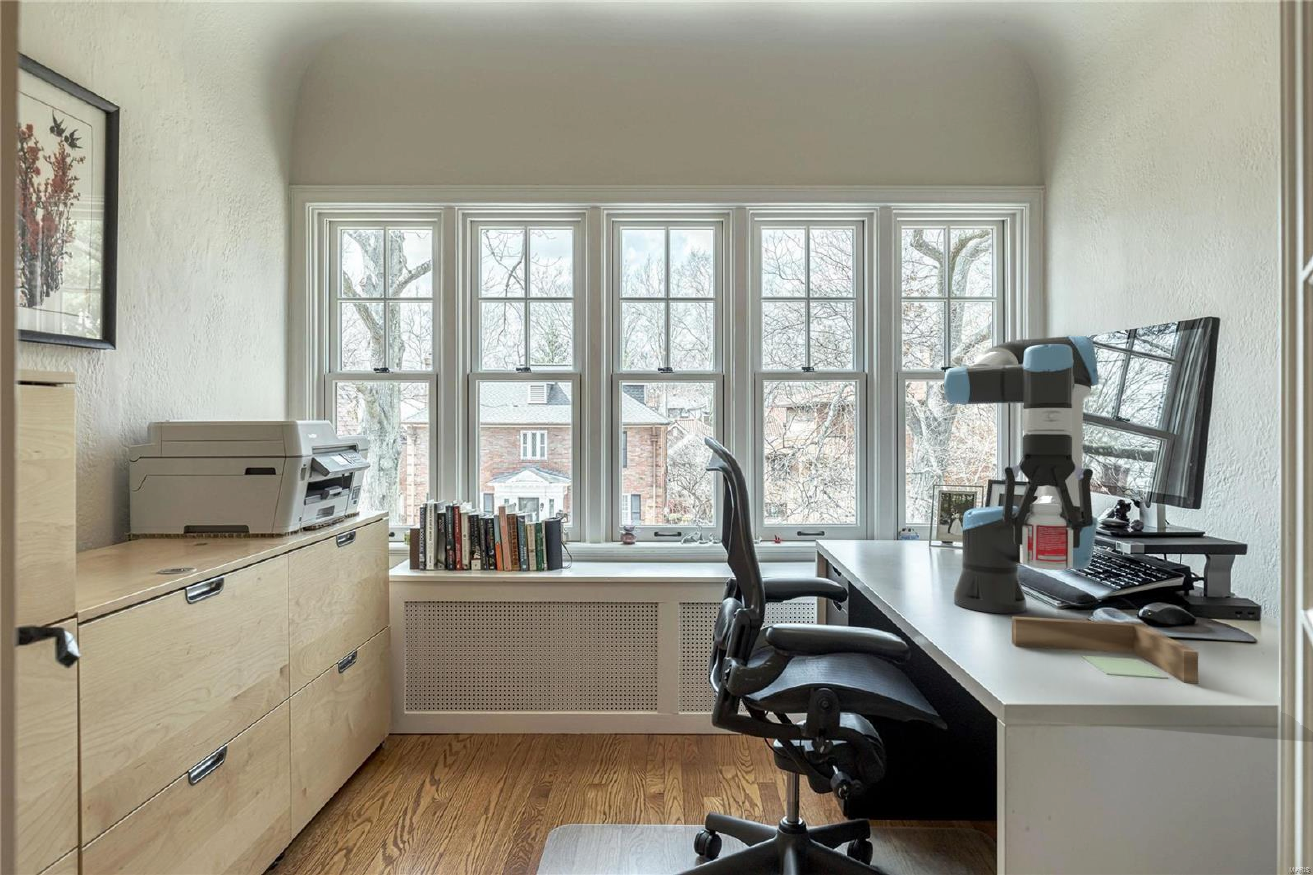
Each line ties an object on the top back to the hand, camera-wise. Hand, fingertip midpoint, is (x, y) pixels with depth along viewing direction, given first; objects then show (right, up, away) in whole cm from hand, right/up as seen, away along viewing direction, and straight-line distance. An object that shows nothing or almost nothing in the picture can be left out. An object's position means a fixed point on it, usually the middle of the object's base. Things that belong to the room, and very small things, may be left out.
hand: (1045, 564), depth 116 cm
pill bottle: (0, -1, 0) cm, 1 cm away
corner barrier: (+9, -17, 0) cm, 19 cm away
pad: (+11, -17, -3) cm, 21 cm away
